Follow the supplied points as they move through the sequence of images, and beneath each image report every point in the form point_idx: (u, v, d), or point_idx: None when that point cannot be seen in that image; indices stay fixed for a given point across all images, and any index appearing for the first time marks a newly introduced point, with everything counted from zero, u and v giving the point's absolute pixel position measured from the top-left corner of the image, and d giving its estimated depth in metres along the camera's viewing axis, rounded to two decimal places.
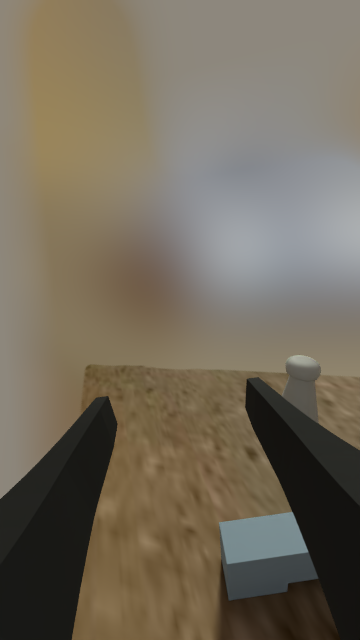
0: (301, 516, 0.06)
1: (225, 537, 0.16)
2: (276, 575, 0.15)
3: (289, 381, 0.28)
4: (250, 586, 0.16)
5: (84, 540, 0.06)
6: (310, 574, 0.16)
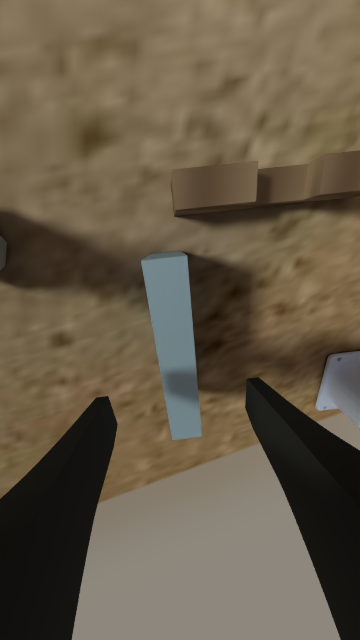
0: (301, 516, 0.06)
1: (184, 436, 0.15)
2: None
3: None
4: None
5: (84, 540, 0.06)
6: None
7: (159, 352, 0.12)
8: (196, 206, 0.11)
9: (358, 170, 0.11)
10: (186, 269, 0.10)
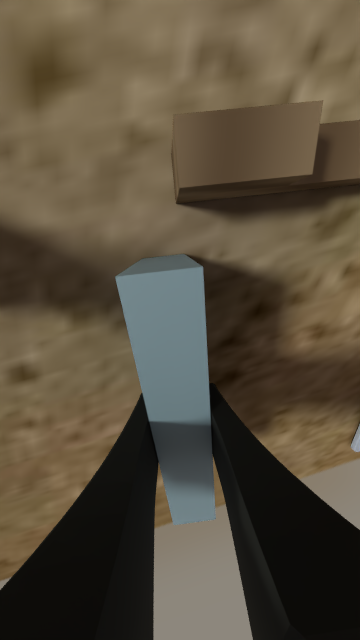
0: (232, 526, 0.06)
1: (190, 520, 0.10)
2: None
3: None
4: None
5: (152, 530, 0.06)
6: None
7: (153, 421, 0.07)
8: (214, 181, 0.07)
9: None
10: (201, 292, 0.05)
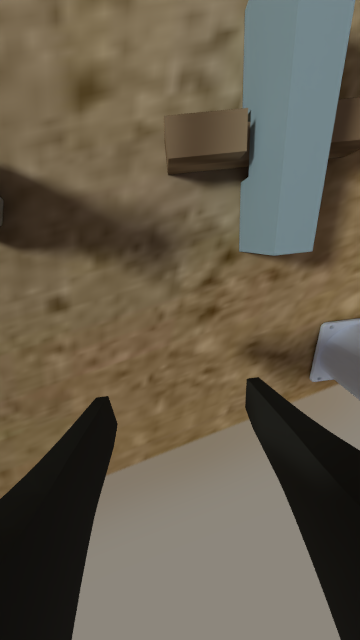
0: (301, 516, 0.06)
1: (290, 248, 0.11)
2: None
3: None
4: None
5: (84, 540, 0.06)
6: None
7: (296, 54, 0.08)
8: (188, 155, 0.12)
9: (346, 119, 0.11)
10: None
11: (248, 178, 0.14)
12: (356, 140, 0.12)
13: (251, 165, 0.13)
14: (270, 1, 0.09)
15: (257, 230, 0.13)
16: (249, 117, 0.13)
